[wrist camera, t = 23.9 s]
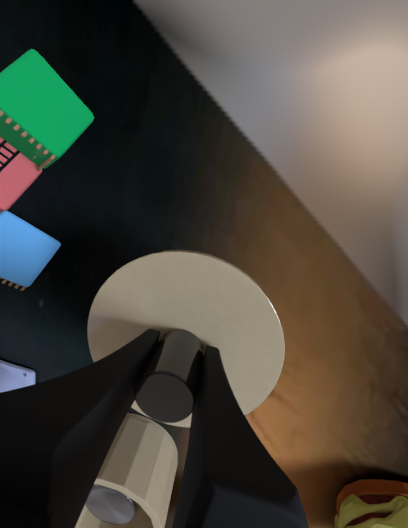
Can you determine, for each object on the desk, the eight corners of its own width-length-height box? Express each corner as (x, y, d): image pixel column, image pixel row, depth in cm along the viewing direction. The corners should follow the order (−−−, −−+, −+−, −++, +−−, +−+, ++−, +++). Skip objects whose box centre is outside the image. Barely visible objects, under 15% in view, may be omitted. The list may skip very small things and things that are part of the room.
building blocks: (98, 180, 22) (17, 283, 18) (7, 98, 17) (-137, 221, 13) (140, 164, 17) (39, 305, 13) (27, 37, 11) (-205, 214, 8)
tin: (108, 461, 25) (82, 514, 21) (113, 431, 24) (87, 480, 19) (148, 474, 25) (131, 531, 21) (156, 444, 23) (139, 498, 19)
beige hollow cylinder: (86, 465, 26) (46, 537, 21) (95, 400, 24) (51, 463, 18) (168, 492, 26) (150, 574, 20) (187, 429, 23) (172, 503, 17)
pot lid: (106, 401, 15) (59, 475, 11) (88, 243, 12) (15, 261, 8) (270, 421, 14) (287, 513, 10) (291, 251, 11) (328, 278, 7)
